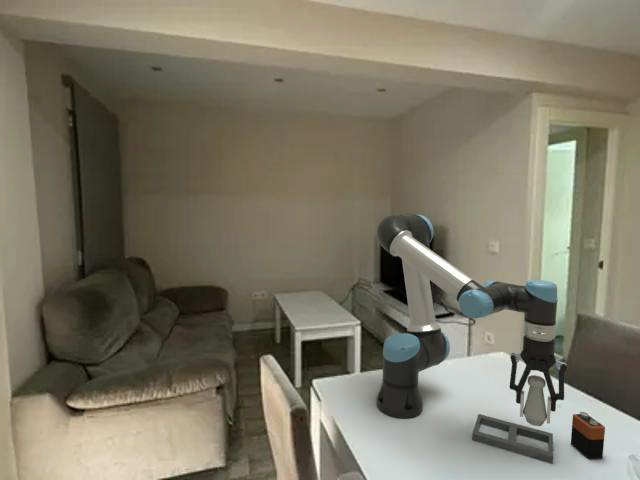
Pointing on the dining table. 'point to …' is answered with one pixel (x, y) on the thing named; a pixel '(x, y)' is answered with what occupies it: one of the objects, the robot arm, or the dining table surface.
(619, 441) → the dining table surface
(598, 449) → the battery
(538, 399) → the salt shaker
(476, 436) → the double window frame
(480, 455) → the dining table surface
